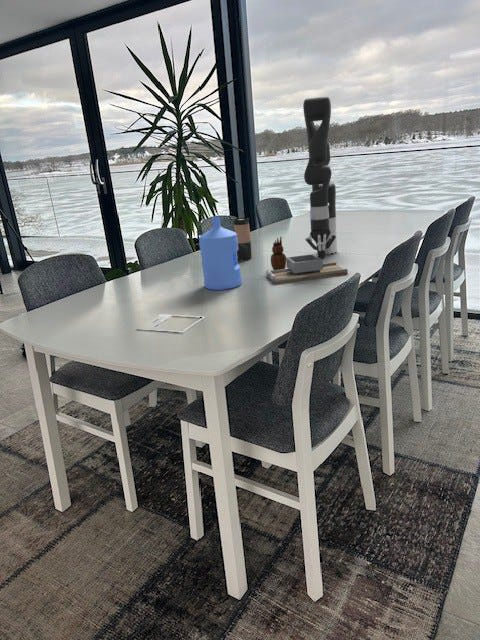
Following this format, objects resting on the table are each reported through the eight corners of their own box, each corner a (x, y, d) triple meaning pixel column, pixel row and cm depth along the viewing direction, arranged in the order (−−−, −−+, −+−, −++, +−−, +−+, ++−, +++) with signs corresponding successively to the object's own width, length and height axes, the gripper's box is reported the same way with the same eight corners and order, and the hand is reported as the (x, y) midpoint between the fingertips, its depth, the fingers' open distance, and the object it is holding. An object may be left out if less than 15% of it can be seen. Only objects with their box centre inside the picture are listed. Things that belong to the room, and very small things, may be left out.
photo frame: (160, 313, 176) (205, 316, 169) (161, 316, 177) (205, 319, 169) (136, 327, 164) (183, 331, 156) (136, 331, 164) (183, 334, 157)
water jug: (214, 293, 197) (205, 221, 188) (198, 285, 211) (190, 218, 201) (248, 285, 204) (242, 215, 194) (231, 278, 217) (225, 213, 208)
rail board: (266, 276, 214) (266, 269, 213) (335, 267, 218) (335, 260, 217) (274, 284, 201) (273, 277, 200) (347, 274, 205) (347, 267, 204)
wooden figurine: (288, 268, 224) (286, 235, 219) (284, 271, 219) (282, 237, 214) (273, 268, 226) (271, 235, 221) (270, 271, 221) (267, 238, 216)
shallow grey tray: (287, 271, 214) (286, 257, 212) (314, 267, 215) (313, 253, 214) (294, 277, 203) (293, 263, 201) (323, 273, 204) (322, 259, 202)
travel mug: (254, 257, 253) (251, 217, 246) (248, 260, 246) (244, 219, 240) (241, 257, 256) (237, 217, 250) (234, 260, 250) (230, 220, 243)
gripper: (332, 214, 207) (333, 255, 213) (301, 218, 205) (303, 259, 211) (338, 216, 200) (339, 258, 206) (306, 220, 198) (308, 263, 204)
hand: (321, 259), depth 208 cm, fingers closed
